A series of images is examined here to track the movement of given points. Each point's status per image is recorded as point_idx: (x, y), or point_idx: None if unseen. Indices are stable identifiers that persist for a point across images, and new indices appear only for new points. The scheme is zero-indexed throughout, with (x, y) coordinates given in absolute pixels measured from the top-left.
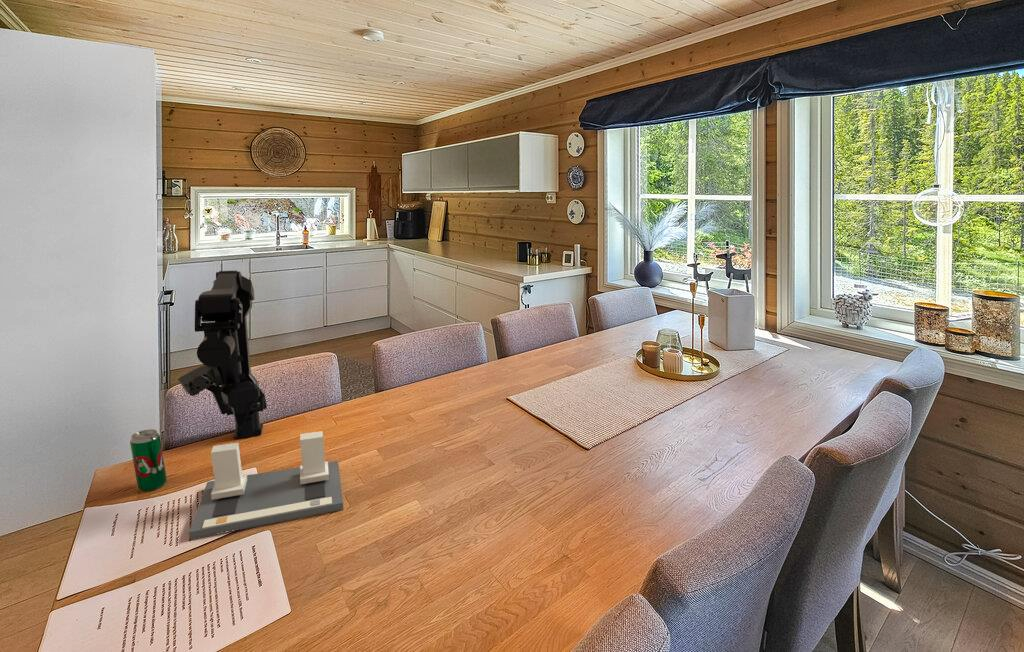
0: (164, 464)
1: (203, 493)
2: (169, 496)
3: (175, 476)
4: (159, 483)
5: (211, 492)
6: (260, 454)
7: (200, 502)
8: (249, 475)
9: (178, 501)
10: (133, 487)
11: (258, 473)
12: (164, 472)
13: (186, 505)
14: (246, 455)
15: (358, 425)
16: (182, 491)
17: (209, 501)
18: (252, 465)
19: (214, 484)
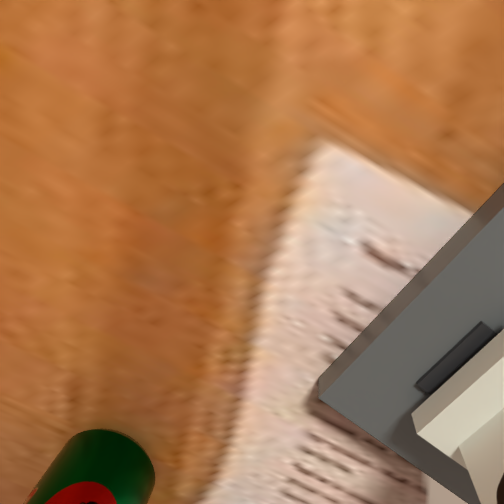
0: (89, 494)
1: (406, 458)
2: (247, 474)
3: (97, 387)
4: (150, 479)
5: None
6: (197, 29)
7: (469, 501)
8: (455, 264)
9: (315, 478)
10: None
11: (486, 226)
12: (118, 478)
13: (373, 481)
14: (143, 90)
15: None
16: (250, 436)
17: None
18: (288, 141)
19: (462, 465)
